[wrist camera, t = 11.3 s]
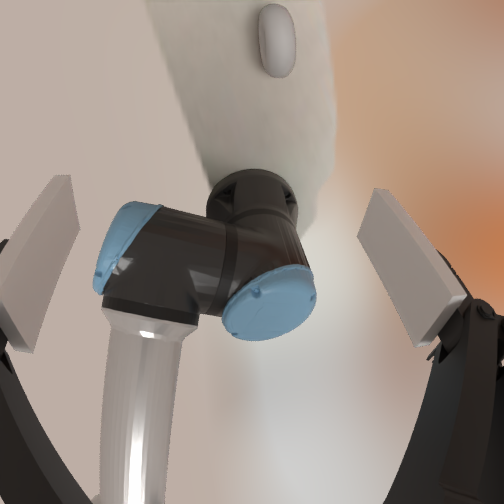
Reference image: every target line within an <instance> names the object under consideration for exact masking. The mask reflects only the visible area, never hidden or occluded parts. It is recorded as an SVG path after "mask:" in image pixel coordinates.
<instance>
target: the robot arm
mask: <svg viewBox="0 0 504 504" xmlns="http://www.w3.org/2000/svg"><path fill="white" fill-rule="evenodd" d="M297 217H298V205H297V201H296V198H295V196H294V193H293V191H292V189H291V187H290V186H289V185H288V183H287V182H286V181H285V180H284V179H282V178H281V177H280V176H278V175H276V174H274V173H272V172H269V171H265V170H258V169H250V170H243V171H239V172H236V173H233V174H231V175H229V176H227V177H226V178H224V179H223V180H222V181H220V182H219V183H218V184H217V185H216V186H215V187H214V189H213V190H212V192H211V193H210V195H209V198H208V201H207V206H206V217H203V216H199V215H195V214H190V213H186V212H183V211H178V210H175V209H171V208H167V207H164V206H163V205H161V204H159V205H153V204H147V203H142V202H137V201H133V202H129V203H127V204H125V205H123V206H122V207H121V209H120V210H119V211H118V212H117V214H116V216H115V218H114V220H113V221H112V223H111V225H110V227H109V230H108V232H107V234H106V237H105V239H104V242H103V245H102V248H101V251H100V254H99V257H98V260H97V264H96V267H97V268H96V270H95V275H94V278H93V289H94V291H95V292H97V293H98V294H99V295H103V294H104V297H103V302H102V309H101V310H102V311H103V313H104V315H105V316H106V318H107V319H108V321H109V322H110V325H111V333H110V340H109V347H108V355H107V363H106V372H105V381H104V393H103V405H102V419H101V437H100V494H98V495H97V496H95V497H94V498H93V499H92V500H91V501H90V499H89V498H88V497H87V496H86V494H85V493H84V491H83V490H82V489H81V487H80V486H79V484H78V483H77V482H76V480H75V479H74V478H73V476H72V474H71V473H70V472H69V470H68V469H67V467H66V466H65V464H64V463H63V461H62V459H61V458H60V456H59V455H58V453H57V451H56V450H55V448H54V447H53V445H52V443H51V441H50V440H49V438H48V436H47V435H46V433H45V431H44V429H43V427H42V426H41V424H40V422H39V420H38V418H37V417H36V414H35V413H34V411H33V409H32V407H31V405H30V403H29V401H28V399H27V396H26V394H25V392H24V390H23V388H22V386H21V384H20V381H19V379H18V377H17V374H16V372H15V370H14V367H13V365H12V363H11V360H10V358H9V355H8V353H7V352H6V351H5V347H6V344H7V341H9V343H10V344H11V346H12V347H13V349H14V350H15V351H21V352H27V353H33V351H34V348H35V345H36V341H37V338H38V335H39V332H40V329H41V326H42V323H43V320H44V317H45V314H46V311H47V308H48V305H49V303H50V300H51V297H52V294H53V292H54V289H55V286H56V284H57V281H58V279H59V276H60V274H61V271H62V269H63V266H64V264H65V262H66V259H67V257H68V255H69V253H70V250H71V248H72V246H73V243H74V241H75V239H76V237H77V235H78V232H79V230H80V226H79V222H78V216H77V211H76V206H75V201H74V196H73V189H72V184H71V177H70V175H55V176H54V177H53V178H52V179H51V181H50V182H49V183H48V184H47V186H46V187H45V189H44V190H43V191H42V192H41V194H40V195H39V197H38V198H37V200H36V201H35V202H34V203H33V205H32V206H31V208H30V209H29V210H28V212H27V213H26V215H25V216H24V218H23V219H22V221H21V222H20V224H19V225H18V227H17V228H16V230H15V231H14V233H13V234H12V236H11V237H10V239H8V240H7V239H4V240H3V241H2V242H1V243H0V496H1V498H2V500H3V501H4V503H5V504H164V503H165V489H166V476H167V465H168V455H169V444H170V435H171V425H172V416H173V408H174V400H175V391H176V383H177V376H178V368H179V361H180V353H181V347H182V341H183V340H184V338H185V337H186V336H188V335H189V334H190V333H192V332H193V331H194V330H196V329H197V327H198V321H199V315H200V314H207V315H213V316H218V317H222V323H223V325H224V326H225V328H226V330H227V331H228V332H229V333H231V334H232V336H234V337H236V338H238V339H242V340H247V341H261V340H268V339H271V338H275V337H278V336H281V335H283V334H285V333H288V332H290V331H291V330H293V329H295V328H296V327H298V326H299V325H300V324H302V323H303V322H304V321H305V320H306V319H307V318H308V316H309V315H310V314H311V312H312V311H313V309H314V306H315V303H316V289H315V286H314V282H313V279H314V278H313V274H312V271H311V269H310V266H309V264H308V261H307V258H306V256H305V253H304V250H303V248H302V245H301V242H300V240H299V237H298V235H297V232H296V224H297ZM357 238H358V239H359V241H360V243H361V244H362V246H363V248H364V250H365V252H366V253H367V255H368V257H369V259H370V261H371V262H372V264H373V266H374V268H375V270H376V272H377V273H378V275H379V277H380V279H381V281H382V282H383V285H384V287H385V289H386V290H387V292H388V294H389V296H390V298H391V300H392V302H393V304H394V306H395V308H396V310H397V312H398V314H399V316H400V318H401V320H402V322H403V324H404V326H405V328H406V330H407V332H408V335H409V337H410V339H411V341H412V343H413V345H414V347H421V346H427V345H430V344H431V342H432V341H433V340H434V339H435V337H436V336H437V335H438V336H439V338H440V340H441V342H440V343H439V344H438V345H437V346H436V348H435V349H434V350H433V351H432V352H431V354H430V355H429V356H428V358H427V360H430V359H431V357H432V356H434V360H433V361H432V363H433V365H432V369H431V373H430V377H429V381H428V384H427V388H426V392H425V396H424V399H423V402H422V405H421V409H420V412H419V415H418V418H417V421H416V424H415V427H414V431H413V433H412V436H411V439H410V442H409V444H408V447H407V450H406V452H405V455H404V458H403V460H402V463H401V465H400V468H399V471H398V472H397V475H396V477H395V480H394V482H393V484H392V486H391V489H390V491H389V493H388V495H387V498H386V499H385V501H384V503H383V504H504V366H502V363H501V361H502V360H503V359H504V316H501V315H497V314H496V313H495V311H494V309H493V308H492V307H491V306H490V305H489V304H488V303H487V302H485V301H484V300H481V299H473V297H472V295H471V294H470V293H469V291H468V290H467V288H466V287H465V285H464V283H463V282H462V281H461V279H460V278H459V276H458V275H456V272H455V270H454V269H453V268H451V265H450V263H449V262H448V261H447V259H446V258H445V257H444V256H443V255H442V254H441V253H440V252H439V251H437V250H436V249H435V248H434V247H433V245H432V244H431V242H430V241H429V240H428V238H427V237H426V236H425V235H424V233H423V232H422V231H421V229H420V228H419V227H418V226H417V224H416V223H415V222H414V220H413V219H412V218H411V217H410V215H408V213H407V212H406V211H405V209H404V208H403V207H402V206H401V205H400V203H399V202H398V201H397V200H396V199H395V197H394V196H393V195H392V194H391V193H390V192H389V190H385V189H377V188H374V191H373V194H372V197H371V200H370V202H369V205H368V208H367V211H366V214H365V216H364V219H363V222H362V224H361V227H360V230H359V232H358V235H357Z"/></svg>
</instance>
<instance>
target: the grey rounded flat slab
mask: <svg viewBox="0 0 504 504" xmlns="http://www.w3.org/2000/svg"><path fill="white" fill-rule="evenodd" d="M258 29H259V45H260V53H261V59H262V63H263V67H264V69H265V71H266V73H267V74H268V75H270V76H271V77H274V78H284V77H286V76H288V75H289V74H290V73H291V71H292V70H293V67H294V64H295V58H296V37H295V29H294V24H293V20H292V17H291V15H290V13H289V12H288V10H287V9H286V8H285V7H283V6H281V5H279V4H269V5H267V6H265V7H264V8H263V9H262V10H261V12H260V15H259V26H258Z"/></svg>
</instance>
